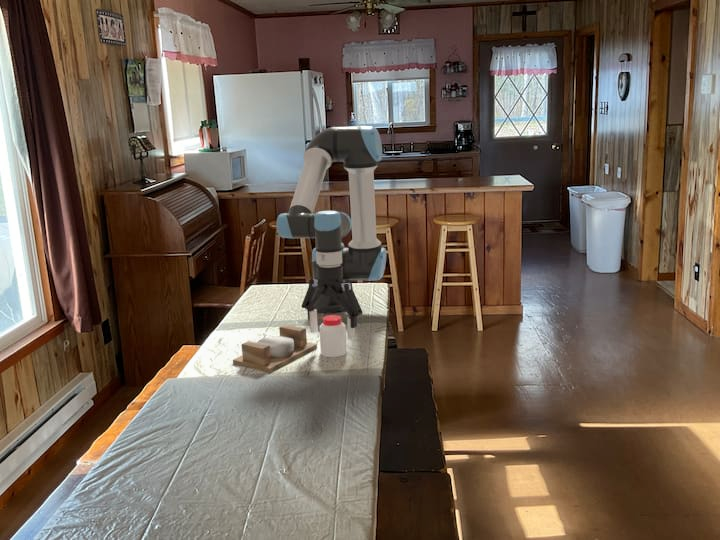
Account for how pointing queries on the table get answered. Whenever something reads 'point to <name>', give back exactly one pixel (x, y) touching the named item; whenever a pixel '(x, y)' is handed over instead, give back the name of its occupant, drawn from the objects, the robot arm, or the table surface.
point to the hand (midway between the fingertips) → (332, 334)
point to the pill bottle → (333, 336)
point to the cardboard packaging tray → (275, 349)
